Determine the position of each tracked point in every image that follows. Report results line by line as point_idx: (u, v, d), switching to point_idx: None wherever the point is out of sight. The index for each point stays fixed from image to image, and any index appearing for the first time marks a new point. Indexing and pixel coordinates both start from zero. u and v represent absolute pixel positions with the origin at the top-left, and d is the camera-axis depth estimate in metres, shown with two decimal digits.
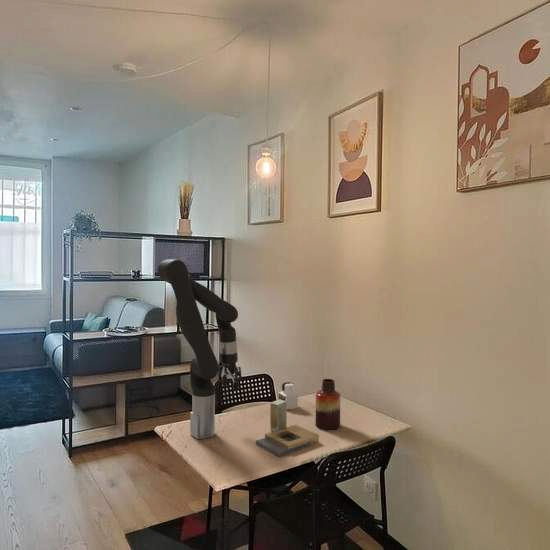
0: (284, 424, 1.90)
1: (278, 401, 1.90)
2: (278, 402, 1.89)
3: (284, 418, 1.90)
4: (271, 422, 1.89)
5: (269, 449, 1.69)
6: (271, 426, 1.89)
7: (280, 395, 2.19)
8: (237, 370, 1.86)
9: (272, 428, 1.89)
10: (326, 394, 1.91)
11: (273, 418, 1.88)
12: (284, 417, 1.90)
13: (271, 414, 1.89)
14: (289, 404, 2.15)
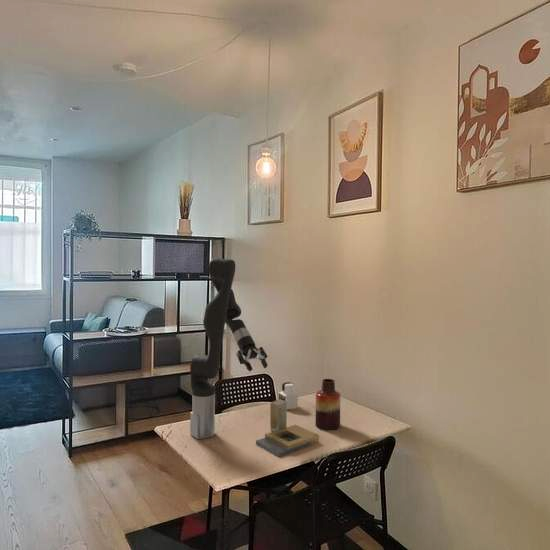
0: (284, 424, 1.90)
1: (278, 401, 1.90)
2: (278, 402, 1.89)
3: (284, 418, 1.90)
4: (271, 422, 1.89)
5: (269, 449, 1.69)
6: (271, 426, 1.89)
7: (280, 395, 2.19)
8: None
9: (272, 428, 1.89)
10: (326, 394, 1.91)
11: (273, 418, 1.88)
12: (284, 417, 1.90)
13: (271, 414, 1.89)
14: (289, 404, 2.15)
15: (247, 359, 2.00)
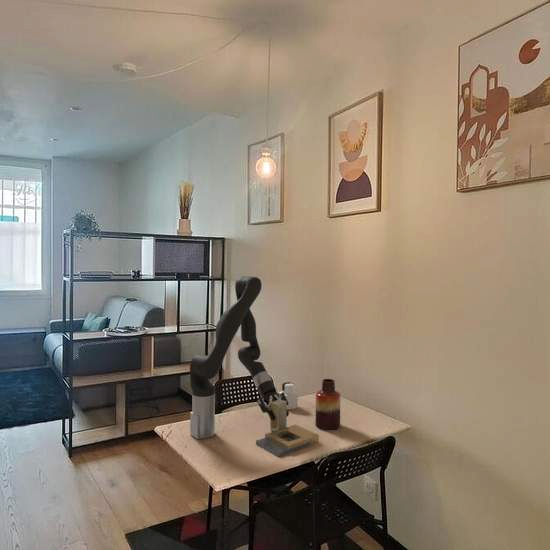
0: (284, 424, 1.90)
1: (278, 401, 1.90)
2: (278, 402, 1.89)
3: (284, 418, 1.90)
4: (271, 421, 1.89)
5: (269, 449, 1.69)
6: (271, 426, 1.89)
7: None
8: None
9: (272, 428, 1.89)
10: (326, 394, 1.91)
11: None
12: (284, 417, 1.90)
13: None
14: (289, 404, 2.15)
15: (270, 407, 1.89)
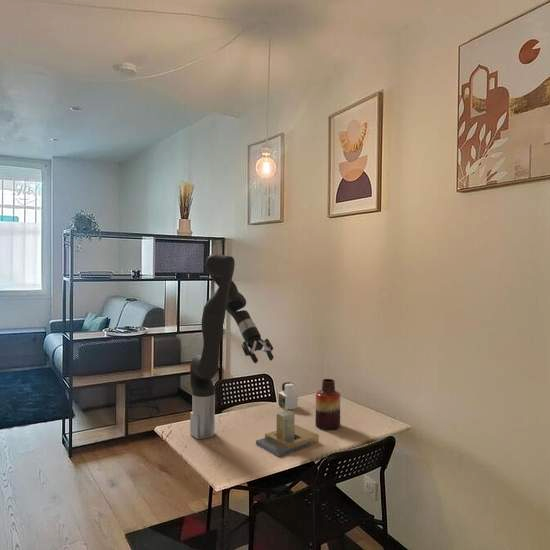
0: (291, 437, 1.76)
1: (285, 412, 1.77)
2: (285, 413, 1.76)
3: (292, 431, 1.76)
4: (277, 434, 1.76)
5: (269, 449, 1.69)
6: None
7: (280, 395, 2.19)
8: None
9: None
10: (326, 394, 1.91)
11: (279, 430, 1.75)
12: (291, 430, 1.76)
13: (277, 426, 1.76)
14: (289, 404, 2.15)
15: (252, 351, 1.93)
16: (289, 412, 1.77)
